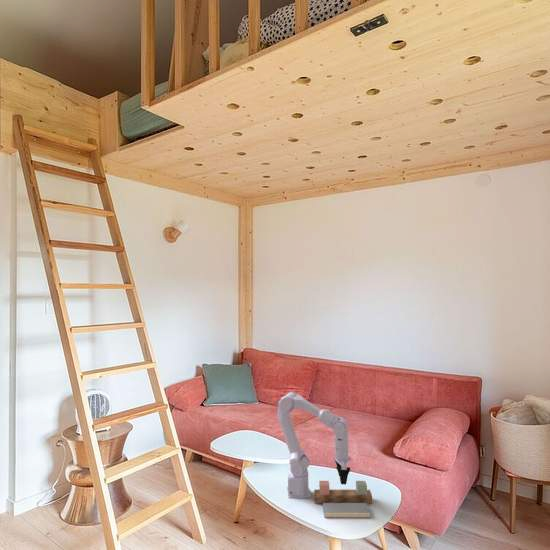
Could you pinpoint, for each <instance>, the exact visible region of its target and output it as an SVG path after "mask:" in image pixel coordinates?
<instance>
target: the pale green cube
mask: <svg viewBox="0 0 550 550" xmlns="http://www.w3.org/2000/svg"><path fill="white" fill-rule="evenodd" d="M355 490H356V491H357V494H358V495H367V490H368V485H367V482H366V480H356V481H355Z"/></svg>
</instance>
